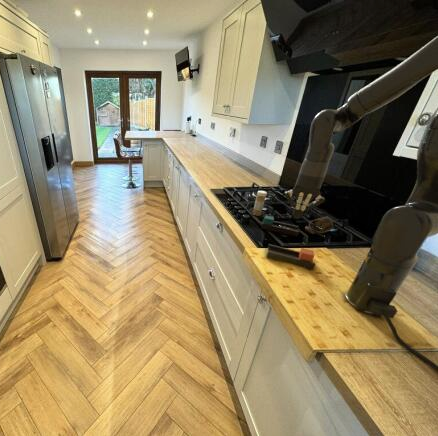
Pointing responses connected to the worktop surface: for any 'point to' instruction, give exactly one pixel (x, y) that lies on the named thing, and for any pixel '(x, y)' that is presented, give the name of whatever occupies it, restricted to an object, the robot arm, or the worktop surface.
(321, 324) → the worktop surface
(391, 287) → the robot arm
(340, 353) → the worktop surface
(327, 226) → the brown lumpy chunk
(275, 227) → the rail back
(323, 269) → the worktop surface
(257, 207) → the sprinkles bottle
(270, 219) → the teal cube
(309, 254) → the red cube
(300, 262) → the rail front
